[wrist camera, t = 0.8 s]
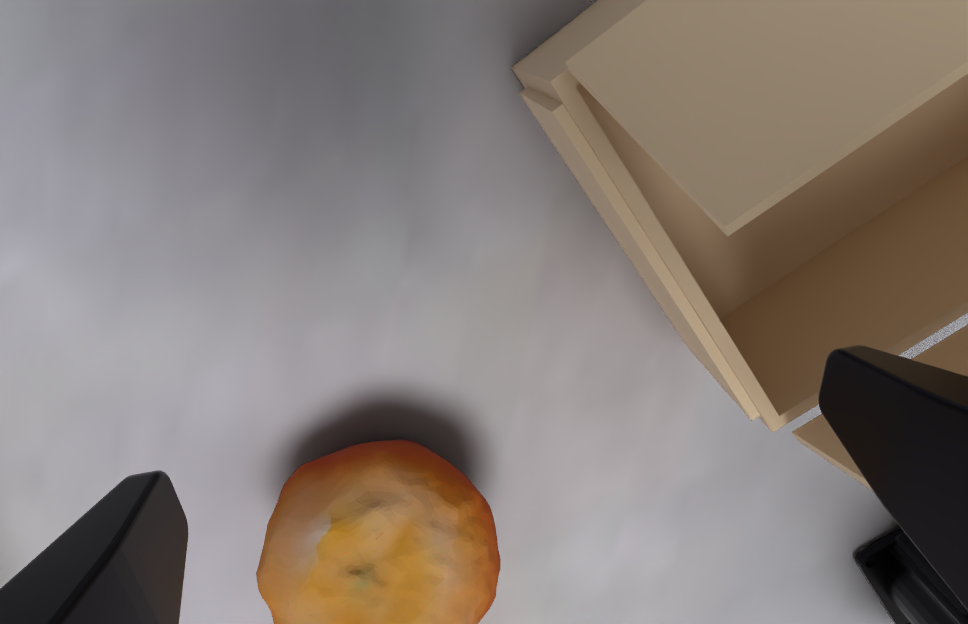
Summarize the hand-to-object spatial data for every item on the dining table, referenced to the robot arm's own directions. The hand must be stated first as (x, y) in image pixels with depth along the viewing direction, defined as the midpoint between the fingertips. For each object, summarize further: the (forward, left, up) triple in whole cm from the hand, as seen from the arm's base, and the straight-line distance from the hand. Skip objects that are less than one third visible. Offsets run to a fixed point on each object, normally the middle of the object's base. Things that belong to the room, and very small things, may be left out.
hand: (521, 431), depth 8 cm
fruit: (-8, +9, -14) cm, 18 cm away
